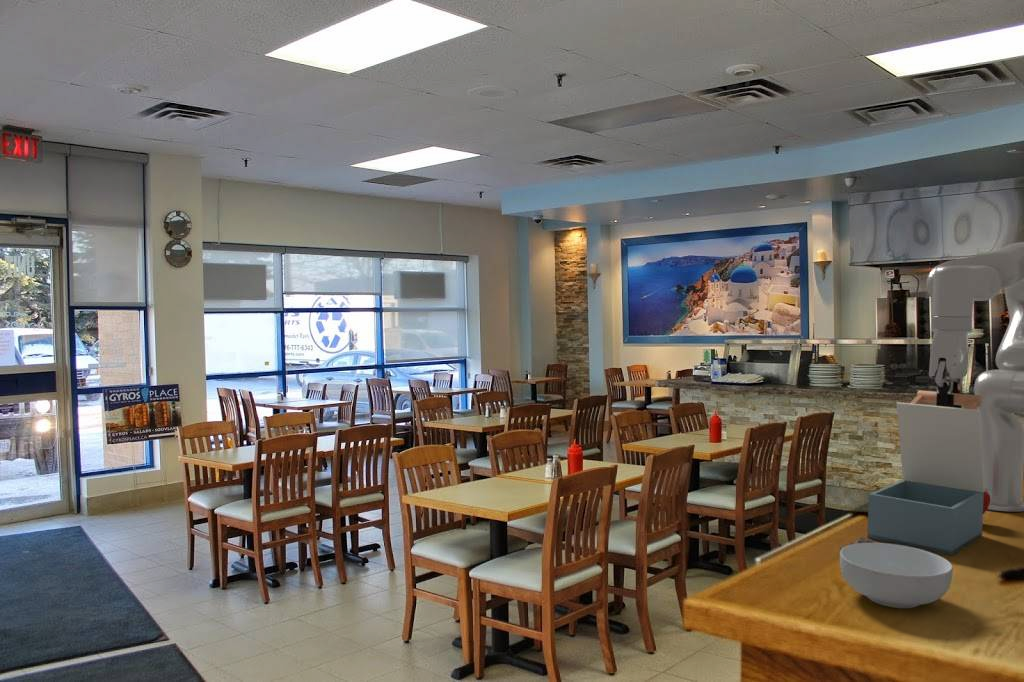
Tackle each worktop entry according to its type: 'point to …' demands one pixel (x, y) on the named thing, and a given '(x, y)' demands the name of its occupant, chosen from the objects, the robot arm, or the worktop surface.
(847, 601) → the worktop surface
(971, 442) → the flap
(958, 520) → the carton
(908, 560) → the cereal bowl
